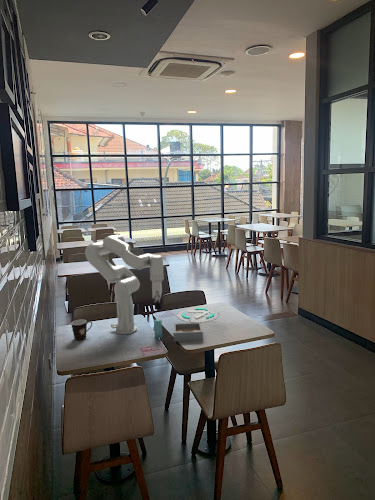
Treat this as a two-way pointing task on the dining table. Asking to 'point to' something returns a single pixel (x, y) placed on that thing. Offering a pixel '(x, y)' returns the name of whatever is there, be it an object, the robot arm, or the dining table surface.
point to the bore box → (188, 332)
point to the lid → (197, 317)
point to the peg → (158, 328)
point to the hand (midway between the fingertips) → (157, 306)
